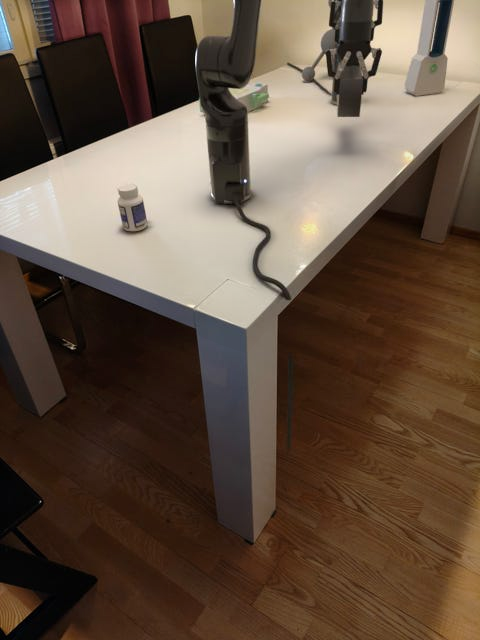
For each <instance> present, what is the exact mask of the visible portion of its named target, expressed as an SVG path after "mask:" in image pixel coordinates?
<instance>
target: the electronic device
mask: <svg viewBox="0 0 480 640" xmlns="http://www.w3.org/2000/svg"><path fill="white" fill-rule="evenodd" d="M454 5H455V0H424V6H423V11H422V17H421V24H420V31H419V32H420V33H419V37H418V43H417V44H418V45H417V51H416V53H415V54H414V55H413V57H411V60H410V64H409V66H408V71H407V75H406V78H405V81H404V90H405V91H406V93H408V94H411V95H413V96H415V97H418V96H425V95H435V94H441V93H442V92H443V91H444V89H445V85H446V76H447V67H448V59H449V58H448V57H447V55H446V54H445V51H446V47H447V42H448V37H449V32H450V25H451V21H452V16H453V9H454Z"/></svg>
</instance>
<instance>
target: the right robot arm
mask: <svg viewBox="0 0 480 640" xmlns="http://www.w3.org/2000/svg"><path fill="white" fill-rule="evenodd" d="M342 1H343V0H332V1H331V8H330V7H329V9H330V12H329V19H328V26H329V27H330V28H332V27H333V28H335V49H336V48H337V46H338V44H339V33H340V19H341V18H340V14H341V7H342ZM374 8H375V9H376V10H377V13H376V20H373V19H372V28H371V37H370V44H371V42H372V41H374V39H375V37H374V36H375V28H376V27H378V26H380V25H382V24H383V13H384V0H374ZM339 61H341V59H340V58H339V56H338V54H337V53H336V54H335V55H334V68H333V71H335V72H336V71H337V69H338V66H339ZM286 64H287V65H288V66H290V67H292V68H294V69H296V70H297V71H300V72H301V73H302V71H303V70H304V69H302V68H300V67H299V66H296V65H295V64H293V63H290V62H287V63H286ZM312 81H313V82H314V83H315V85H316V86H318V87H319V88H320V89H321V90H323V91H324V92H325V93H326V94H328V95H329V96H331V98H330V103H331V104H333V105H335V106H337V95H336V92H334V78H333V77H332V85H331V93H330V92H329V90H328V89H327V88H326V87H324V86H323V85H322V84H320V83H319V81H317V80H316V79H315V78H314V79H313V80H312Z"/></svg>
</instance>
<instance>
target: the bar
mask: <svg viewBox="0 0 480 640" xmlns="http://www.w3.org/2000/svg"><path fill="white" fill-rule="evenodd" d="M340 62H341V61H339V64H340ZM339 78H340V86H339V95H337V105H336V115H337V118H360V117H361V105H362V97H363V95H362V87H363V74H362V70H361V67H360V65H359V66H354V65H351V66H346V65H345V68H344V70H343V71H342V73H341V75H340V77H339Z"/></svg>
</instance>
